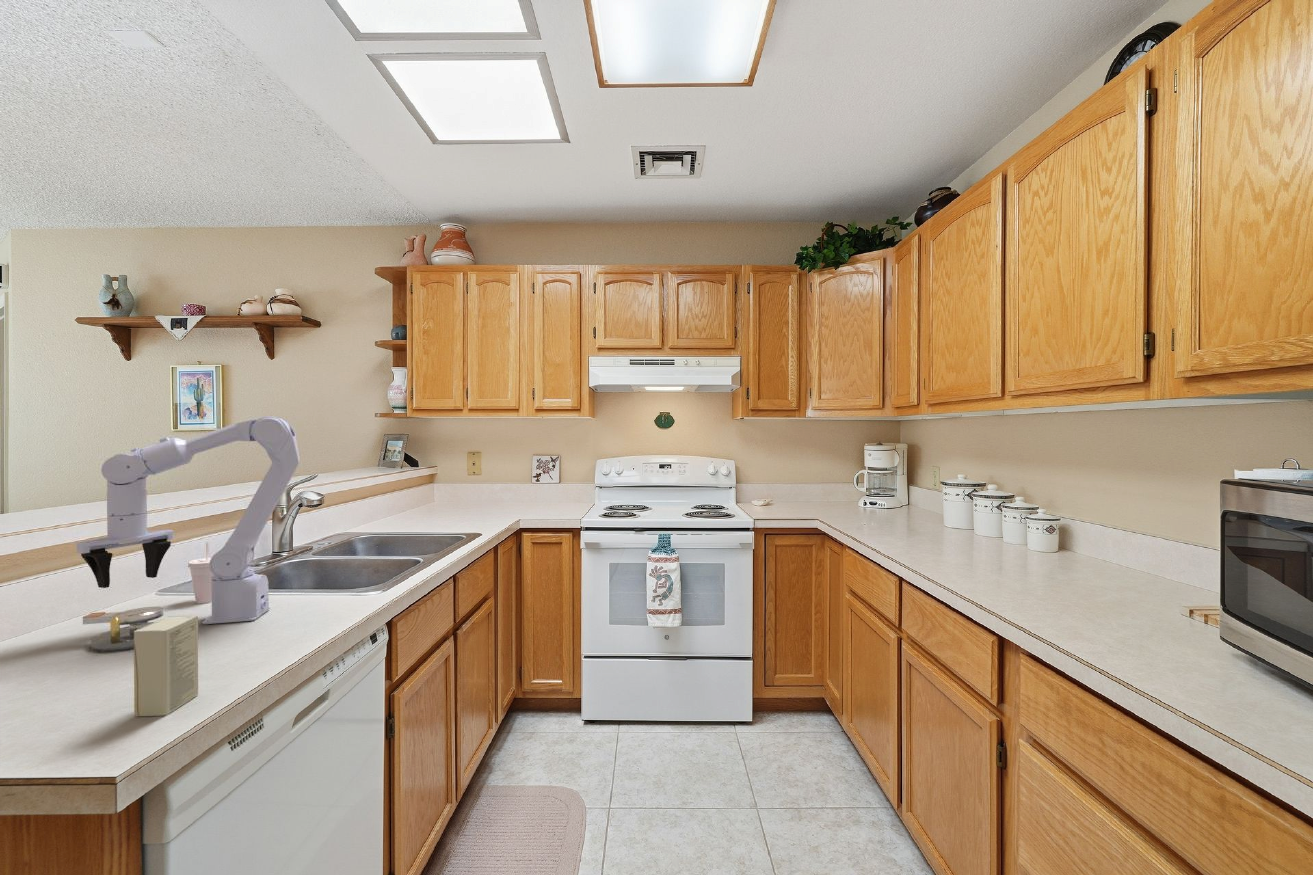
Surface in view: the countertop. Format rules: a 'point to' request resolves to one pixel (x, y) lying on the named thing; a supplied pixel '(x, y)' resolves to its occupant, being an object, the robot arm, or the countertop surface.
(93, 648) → the base
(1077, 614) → the countertop surface
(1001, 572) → the countertop surface
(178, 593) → the countertop surface
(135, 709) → the skincare box
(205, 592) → the smoothie
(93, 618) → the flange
